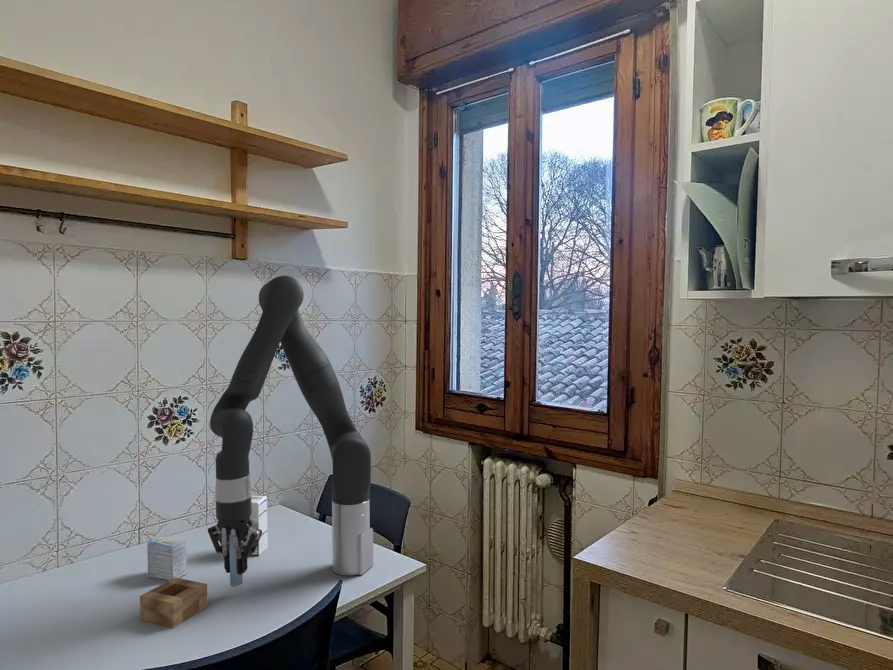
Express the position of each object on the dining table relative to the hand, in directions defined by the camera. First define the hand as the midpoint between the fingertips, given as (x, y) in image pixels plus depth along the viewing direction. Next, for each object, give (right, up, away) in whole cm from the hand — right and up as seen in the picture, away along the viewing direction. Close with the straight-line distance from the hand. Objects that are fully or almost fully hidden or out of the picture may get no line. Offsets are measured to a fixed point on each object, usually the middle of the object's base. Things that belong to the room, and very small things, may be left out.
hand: (236, 571), depth 126 cm
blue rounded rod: (0, -3, 0) cm, 3 cm away
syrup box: (-4, -5, +24) cm, 25 cm away
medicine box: (-20, -5, +10) cm, 23 cm away
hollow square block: (-10, -5, -8) cm, 14 cm away
